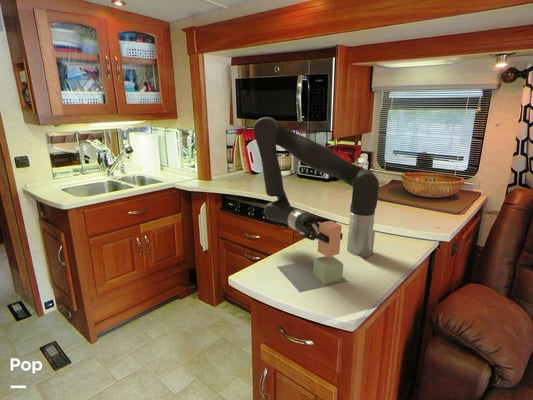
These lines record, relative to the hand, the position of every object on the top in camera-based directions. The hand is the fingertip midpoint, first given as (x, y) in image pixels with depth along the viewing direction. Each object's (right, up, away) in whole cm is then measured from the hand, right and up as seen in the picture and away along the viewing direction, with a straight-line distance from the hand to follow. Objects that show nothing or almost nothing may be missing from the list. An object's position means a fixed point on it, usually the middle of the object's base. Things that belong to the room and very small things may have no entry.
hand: (335, 238), depth 109 cm
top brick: (-1, -5, +4) cm, 7 cm away
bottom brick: (-1, -14, +6) cm, 15 cm away
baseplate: (-7, -14, +9) cm, 18 cm away
